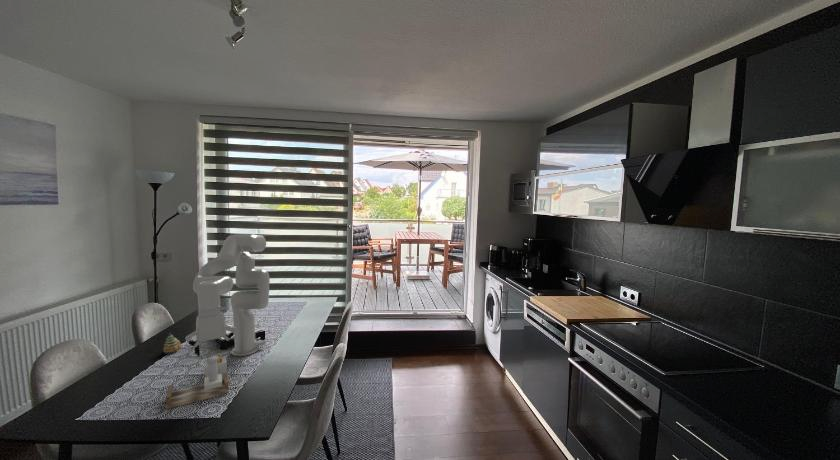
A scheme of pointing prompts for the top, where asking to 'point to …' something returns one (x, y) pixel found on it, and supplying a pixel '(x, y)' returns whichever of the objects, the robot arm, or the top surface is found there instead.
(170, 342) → the ornament
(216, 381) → the grey pedestal
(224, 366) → the white box
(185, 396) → the brown wooden tray
